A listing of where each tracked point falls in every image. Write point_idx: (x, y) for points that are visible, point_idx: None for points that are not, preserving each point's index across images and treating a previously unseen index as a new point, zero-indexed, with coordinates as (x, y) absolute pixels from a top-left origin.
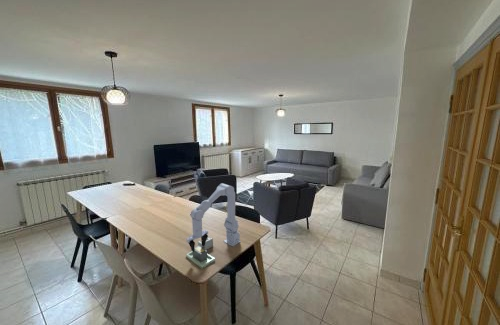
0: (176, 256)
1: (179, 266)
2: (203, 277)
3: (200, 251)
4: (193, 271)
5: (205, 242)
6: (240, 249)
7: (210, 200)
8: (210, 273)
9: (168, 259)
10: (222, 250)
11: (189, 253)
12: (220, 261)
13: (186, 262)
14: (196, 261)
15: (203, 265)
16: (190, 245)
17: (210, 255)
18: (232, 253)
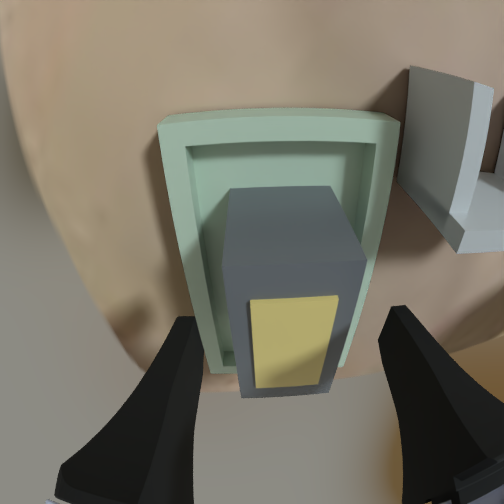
0: (82, 27)
1: (64, 221)
2: None
3: (268, 379)
4: (150, 333)
5: (484, 245)
6: (496, 335)
7: None
8: (233, 389)
9: (7, 44)
10: (471, 286)
11: (208, 143)
12: (356, 360)
13: (133, 212)
14: (201, 321)
15: (225, 371)
16: (142, 403)
17: (353, 331)
18: (456, 341)
